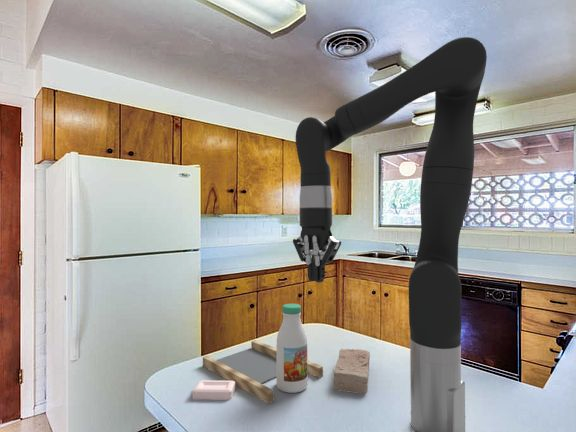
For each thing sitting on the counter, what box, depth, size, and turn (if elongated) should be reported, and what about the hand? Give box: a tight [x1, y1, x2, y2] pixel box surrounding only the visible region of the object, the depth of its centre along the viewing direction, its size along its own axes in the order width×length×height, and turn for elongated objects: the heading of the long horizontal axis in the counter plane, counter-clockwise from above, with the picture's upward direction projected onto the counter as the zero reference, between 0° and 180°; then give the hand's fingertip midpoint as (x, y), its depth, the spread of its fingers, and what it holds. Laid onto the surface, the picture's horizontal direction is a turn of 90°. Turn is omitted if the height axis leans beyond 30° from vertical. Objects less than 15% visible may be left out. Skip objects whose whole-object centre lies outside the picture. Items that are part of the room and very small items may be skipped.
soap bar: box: [192, 379, 236, 401], centre depth 82 cm, size 5×9×2 cm, turn 88°
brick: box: [333, 348, 371, 395], centre depth 90 cm, size 17×8×5 cm, turn 165°
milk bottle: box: [275, 303, 309, 394], centre depth 85 cm, size 8×8×20 cm
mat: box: [216, 347, 277, 385], centre depth 96 cm, size 20×15×1 cm
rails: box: [202, 339, 324, 405], centre depth 93 cm, size 28×19×2 cm
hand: (316, 281), depth 79 cm, fingers closed
